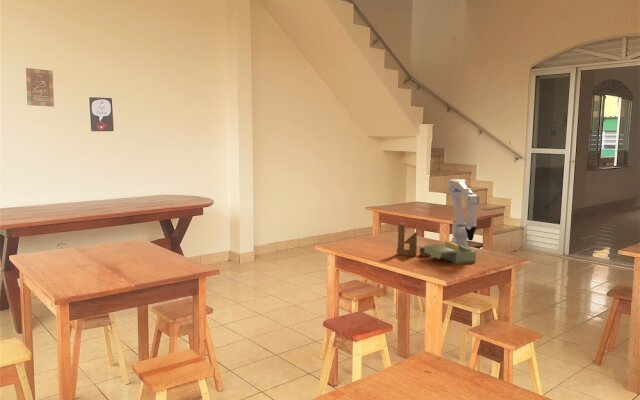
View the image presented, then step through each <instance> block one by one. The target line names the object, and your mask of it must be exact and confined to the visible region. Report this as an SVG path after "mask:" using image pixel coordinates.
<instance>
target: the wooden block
mask: <svg viewBox="0 0 640 400" xmlns="http://www.w3.org/2000/svg"><path fill="white" fill-rule="evenodd" d="M405 225H406V224H405V223H398V226H397V248H396V256H405V257H414V258H415V257H416V256H417V247H418V245H417V243H418V231H415V232H414V233H413V234H412V235H411V236H410V237H408V239H406V240H405V229H406V228H405ZM405 244H406V245H407V244H408V247H409V248H405Z"/></svg>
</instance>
